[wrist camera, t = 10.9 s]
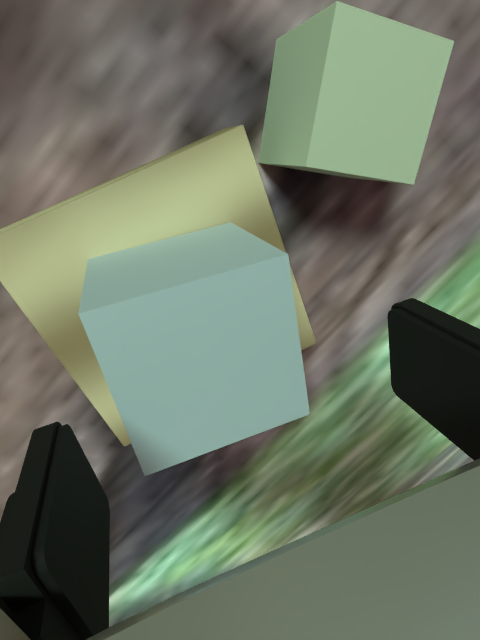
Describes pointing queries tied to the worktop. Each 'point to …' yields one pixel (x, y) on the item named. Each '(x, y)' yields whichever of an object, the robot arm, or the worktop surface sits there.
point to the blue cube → (196, 341)
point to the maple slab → (131, 241)
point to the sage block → (353, 96)
